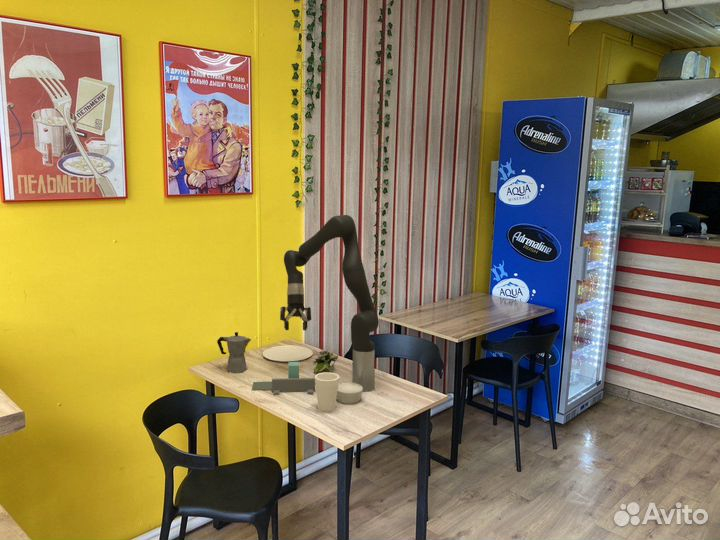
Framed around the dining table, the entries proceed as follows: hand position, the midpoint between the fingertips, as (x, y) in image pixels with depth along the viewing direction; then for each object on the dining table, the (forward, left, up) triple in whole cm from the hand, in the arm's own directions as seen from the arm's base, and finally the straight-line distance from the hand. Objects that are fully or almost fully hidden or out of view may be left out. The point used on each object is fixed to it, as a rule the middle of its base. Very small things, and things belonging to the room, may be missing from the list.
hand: (296, 330), depth 250 cm
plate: (+27, -9, -22) cm, 35 cm away
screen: (-18, +10, -21) cm, 30 cm away
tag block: (-12, +7, -21) cm, 25 cm away
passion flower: (-3, -14, -21) cm, 26 cm away
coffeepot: (+19, +22, -21) cm, 36 cm away
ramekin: (-36, -6, -21) cm, 42 cm away
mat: (-6, +18, -21) cm, 28 cm away
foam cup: (-39, +6, -21) cm, 44 cm away
